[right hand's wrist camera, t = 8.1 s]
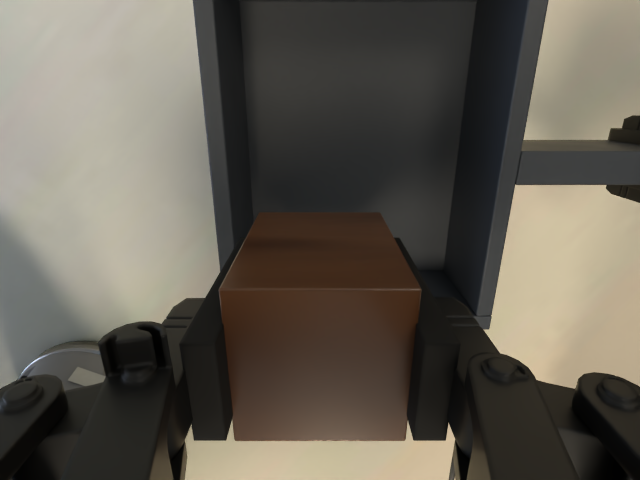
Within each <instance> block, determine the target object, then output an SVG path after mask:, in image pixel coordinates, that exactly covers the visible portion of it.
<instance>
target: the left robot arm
mask: <svg viewBox="0 0 640 480" xmlns="http://www.w3.org/2000/svg"><path fill="white" fill-rule="evenodd" d="M608 140H609V141H617V142H624V143H631V144H638V145H640V116H631V117H628V118H626V119H624V122H623V126H622V128H611V129H610V133H609V137H608ZM606 189H607V190H608V191H609V192H610V193H611V194H614V195H617V196H620V197H623V198H626V199H629V200H633V201H636V202H639V203H640V185H607V186H606Z"/></svg>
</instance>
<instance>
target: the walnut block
mask: <svg viewBox="0 0 640 480" xmlns="http://www.w3.org/2000/svg"><path fill="white" fill-rule="evenodd" d="M219 298H220V307H221V317H222V324H223V325H224V335H225V344H226V354H227V363H228V373H229V382H230V392H231V401H232V411H233V417H232V420H233V430H234V439H235V441H404V440H405V439H406V430H407V421H408V418H407V407H408V398H409V388H410V379H411V369H412V360H413V350H414V341H415V331H416V324H417V323H418V318H419V309H420V300H421V287H420V286H419V284H418V282H417V280H416V278H415V276H414V274H413V273H412V271H411V269H410V267H409V265H408V263H407V261H406V259H405V258H404V256H403V254H402V252H401V250H400V248H399V246H398V244H397V243H396V241H395V239H394V237H393V235H392V233H391V231H390V230H389V228H388V226H387V224H386V222H385V220H384V218H383V216H382V215H381V213H380V212H260V213H259V214H258V216H257V218H256V220H255V221H254V223H253V225H252V227H251V229H250V231H249V233H248V235H247V237H246V239H245V240H244V242H243V244H242V246H241V248H240V250H239V252H238V254H237V256H236V258H235V259H234V261H233V263H232V265H231V267H230V269H229V271H228V273H227V275H226V277H225V278H224V280H223V282H222V284H221V286H220V288H219Z"/></svg>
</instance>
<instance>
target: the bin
mask: <svg viewBox="0 0 640 480" xmlns="http://www.w3.org/2000/svg"><path fill="white" fill-rule="evenodd" d="M547 5H548V0H193V6H194V16H195V26H196V36H197V46H198V56H199V65H200V75H201V85H202V95H203V105H204V115H205V125H206V134H207V144H208V154H209V164H210V174H211V184H212V193H213V203H214V213H215V223H216V233H217V243H218V253H219V262H220V272H221V270H222V268H223V266H224V265H225V263H226V261H227V260H228V258H229V256H230V254H231V253H232V251H233V249H234V247H235V246H236V244H237V242H238V240H239V239H240V237H247V235H248V233H249V231H250V229H251V227H252V225H253V223H254V221H255V220H256V218H257V216H258V214H259V213H260V212H380V213H381V215H382V216H383V218H384V220H385V222H386V224H387V226H388V228H389V230H390V231H391V233H392V235H393V237H400V239H401V241H402V243H403V244H404V246H405V248H406V250H407V251H408V253H409V255H410V257H411V258H412V260H413V262H414V264H415V265H416V267H417V269H418V271H419V272H420V274H421V276H422V277H423V279H424V281H425V283H426V284H427V286H428V288H429V290H430V291H431V293H432V295H433V297H454V298H455V299H457V300H458V301H460V302H461V303H463V304H464V305H466V306H467V308H468V309H469V310H470V312H471V313H472V315H473V317H474V318H475V319H476V320H477V322H478V323H479V326H480V327H482V329H489V327H490V322H491V314H492V309H493V304H494V298H495V293H496V287H497V281H498V276H499V270H500V265H501V259H502V254H503V248H504V243H505V237H506V232H507V226H508V221H509V215H510V210H511V204H512V199H513V193H514V188H515V184H516V185H640V145H638V144H631V143H624V142H617V141H609V140H523V138H524V132H525V127H526V121H527V116H528V110H529V105H530V99H531V94H532V88H533V83H534V77H535V72H536V66H537V61H538V55H539V50H540V44H541V39H542V33H543V28H544V22H545V16H546V11H547Z"/></svg>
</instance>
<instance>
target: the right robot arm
mask: <svg viewBox="0 0 640 480" xmlns="http://www.w3.org/2000/svg"><path fill="white" fill-rule="evenodd" d="M245 239H246V237H240V239H239V240H238V242H237V244H236V246H235V247H234V249H233V251H232V253H231V254H230V256H229V258H228V260H227V261H226V263H225V265H224V266H223V268H222V270H221V272H220V273H219V275H218V277H217V279H216V280H215V282H214V284H213V286H212V287H211V289H210V291H209V293H208V294H207V296H206V298H186V299H185V300H183V301H182V302H180V303H179V304H177V305H176V306H174V307H173V309H172V310H171V312H170V313H169V314H168V316H167V317H166V319H165V320H164V322H163V323H162V324H159V323H155V322H136V323H131V324H127V325H124V326H122V327H119V328H116V329H114V330H113V331H111V332H109V333H108V334H106V335H105V336H104V337H103V338H102V339H101V340H100V341H99V342H91V341H75V342H68V343H64V344H60V345H57V346H54V347H52V348H50V349H48V350H46V351H45V352H43V353H42V354H41V355H39V356H38V357H37V358H36V359H35V360H34V361H33V362H32V363H31V364H30V365H29V366H28V367H27V368H26V369H25V370H24V371H23V372H22V373H21V375H20V377H19V378H18V380H16V381H14V382H13V383H11V384H8V385H6V386H4V387H2V388H1V389H0V480H185V471H186V463H187V451H186V444H185V438H186V436H187V433H188V431H189V428H190V425H191V424H192V430H193V437H194V440H226V439H227V435H228V431H229V428H230V424H231V421H232V417H233V411H232V401H231V392H230V382H229V373H228V363H227V354H226V344H225V335H224V325H223V324H222V317H221V307H220V298H219V288H220V286H221V284H222V282H223V280H224V278H225V277H226V275H227V273H228V271H229V269H230V267H231V265H232V263H233V261H234V259H235V258H236V256H237V254H238V252H239V250H240V248H241V246H242V244H243V242H244V240H245ZM394 239H395V241H396V243H397V244H398V246H399V248H400V250H401V252H402V254H403V256H404V258H405V259H406V261H407V263H408V265H409V267H410V269H411V271H412V273H413V274H414V276H415V278H416V280H417V282H418V284H419V286H420V287H421V300H420V309H419V318H418V323H417V324H416V331H415V341H414V350H413V360H412V369H411V379H410V388H409V398H408V407H407V418H408V422H409V425H410V429H411V433H412V436H413V440H446V435H447V428H448V422H449V424H450V427H451V429H452V432H453V434H454V437H455V444H454V450H453V456H452V462H451V468H450V475H449V480H454V478H455V479H456V480H640V387H639V386H638V385H636V384H633V383H631V382H629V381H627V380H626V379H623V378H621V377H618V376H617V377H616V376H614V375H610V374H604V373H595V372H594V373H588V374H584V375H582V376H581V377H580V378H579V379H578V382H577V385H576V389H573V388H568V387H563V386H558V385H554V384H549V383H545V382H541V381H538V380H536V379H535V376H534V375H533V374H532V372H531V371H530V369H529V368H528V367H527V366H525V365H524V364H523V363H521V362H520V361H518V360H516V359H514V358H512V357H510V356H507V355H504V354H500V353H499V351H498V350H497V349H496V347H495V346H494V344H493V343H492V342H491V340H490V339H489V337H488V336H487V334H486V333H485V332H484V330H483V329H482V327H480V326H479V323H478V322H477V320H476V319H475V318H474V317H473V315H472V313H471V312H470V310H469V309H468V308H467V306H466V305H464V304H463V303H461V302H460V301H458V300H457V299H455V298H454V297H433V295H432V293H431V291H430V290H429V288H428V286H427V284H426V283H425V281H424V279H423V277H422V276H421V274H420V272H419V271H418V269H417V267H416V265H415V264H414V262H413V260H412V258H411V257H410V255H409V253H408V251H407V250H406V248H405V246H404V244H403V243H402V241H401V239H400V237H394Z"/></svg>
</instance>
